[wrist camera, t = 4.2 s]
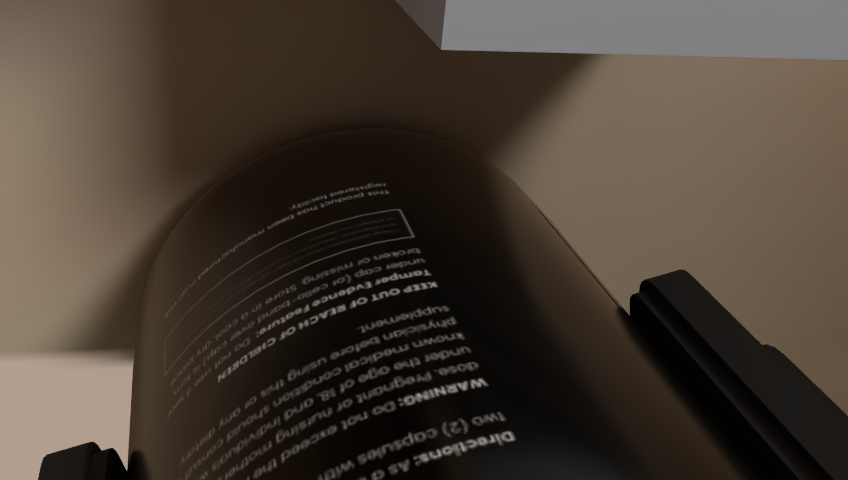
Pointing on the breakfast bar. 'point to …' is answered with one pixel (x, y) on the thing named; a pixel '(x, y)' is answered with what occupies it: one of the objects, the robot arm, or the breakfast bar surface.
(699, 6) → the slate cube
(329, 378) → the supplement bottle
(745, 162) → the breakfast bar surface
